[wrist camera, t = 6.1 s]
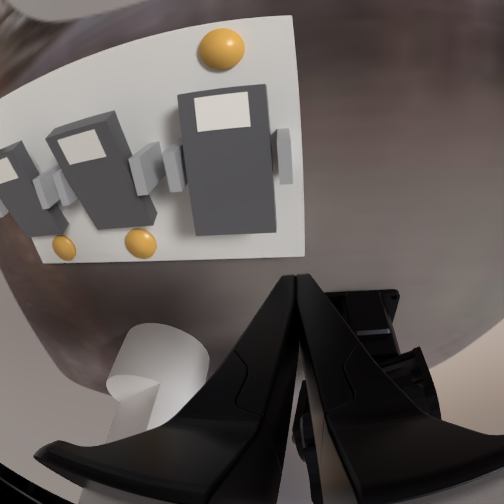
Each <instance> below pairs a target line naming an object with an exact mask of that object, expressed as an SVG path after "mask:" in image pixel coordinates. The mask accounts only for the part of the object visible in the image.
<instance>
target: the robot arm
mask: <svg viewBox="0 0 504 504" xmlns="http://www.w3.org/2000/svg"><path fill="white" fill-rule="evenodd" d="M393 295H395V296H393ZM399 298H400V295H399V292H398V290H395V289H392V290H375V291H356V292H335V293H324V292H323V291H322V290H321V288H320V287H319V286H318V284H317V283H316V282H315V280H314V279H313V278H312V276H311V275H310V274H308V273H307V274H297V275H296V276H295V275H283V276H281V278H280V279H279V281H278V282H277V284H276V285H275V287H274V288H273V290H272V291H271V293H270V294H269V296H268V297H267V299H266V300H265V302H264V303H263V305H262V306H261V308H260V309H259V311H258V312H257V314H256V315H255V316H254V318H253V319H252V321H251V322H250V324H249V325H248V327H247V328H246V330H245V331H244V333H243V334H242V336H241V337H240V338H239V340H238V341H237V343H236V344H235V346H234V347H233V350H231V351H230V353H229V354H228V356H227V357H226V358H225V360H224V361H223V362H222V364H221V365H220V366H219V368H218V369H217V370H216V372H215V373H214V374H213V375H212V376H211V377H210V379H209V380H208V381H207V382H206V383H205V384H204V385H203V386H202V387H201V389H200V390H199V391H198V392H197V393H196V394H195V395H194V396H193V397H192V398H191V399H190V400H189V401H188V402H187V403H186V404H185V405H184V407H183V408H182V409H181V410H180V411H179V412H178V413H177V414H176V415H175V416H174V417H172V418H171V419H170V420H169V421H167V422H166V423H164V424H162V425H161V426H159V427H156V428H153V429H151V430H148V431H145V432H142V433H139V434H136V435H133V436H130V437H127V438H123V439H120V440H117V441H114V442H110V443H107V444H104V445H99V446H92V447H82V446H77V445H74V444H71V443H68V442H64V441H60V440H58V441H55V442H52V443H50V444H47V445H45V446H43V447H42V448H40V449H39V450H38V451H37V452H36V453H35V454H34V456H33V457H34V458H35V459H36V460H37V461H38V462H40V463H41V464H43V465H44V466H46V467H47V468H49V469H51V470H52V471H54V472H55V473H57V474H59V475H60V476H62V477H64V478H66V479H67V480H70V481H71V482H73V483H75V484H77V485H79V486H80V487H82V488H83V490H82V493H81V496H80V499H79V503H78V504H276V503H277V498H278V493H279V486H280V481H281V476H282V469H283V463H284V457H285V451H286V445H287V437H288V431H289V424H290V417H291V410H292V403H293V395H294V387H295V379H296V371H297V362H298V353H299V339H300V348H301V355H302V361H303V367H304V373H305V379H306V380H303V381H302V385H301V390H300V392H299V398H298V403H297V408H296V414H295V419H294V424H293V429H292V431H293V435H292V441H293V443H295V444H296V447H297V451H298V453H299V456H300V458H301V459H302V460H303V461H304V462H306V464H307V469H308V474H309V480H310V490H311V499H312V502H313V503H314V504H504V435H487V434H483V433H479V432H476V431H473V430H470V429H467V428H464V427H461V426H458V425H455V424H452V423H448V422H446V421H443V420H441V413H440V407H439V402H438V397H437V393H436V390H435V386H434V383H433V381H432V377H431V375H430V372H429V369H428V367H427V364H426V361H425V359H424V356H423V353H422V351H421V348H420V346H419V347H417V348H414V349H413V350H412V351H409V352H406V353H403V354H401V353H400V349H399V346H398V342H397V339H396V335H395V332H394V328H393V325H392V323H393V319H394V316H395V312H396V309H397V305H398V302H399ZM0 504H74V503H72V502H70V501H68V500H65V499H63V498H61V497H59V496H57V495H55V494H53V493H51V492H49V491H47V490H45V489H43V488H41V487H40V486H38V485H36V484H34V483H32V482H30V481H29V480H27V479H25V478H23V477H22V476H20V475H18V474H17V473H15V472H14V471H12V470H10V469H9V468H7V467H6V466H4V465H3V464H1V463H0Z"/></svg>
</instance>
